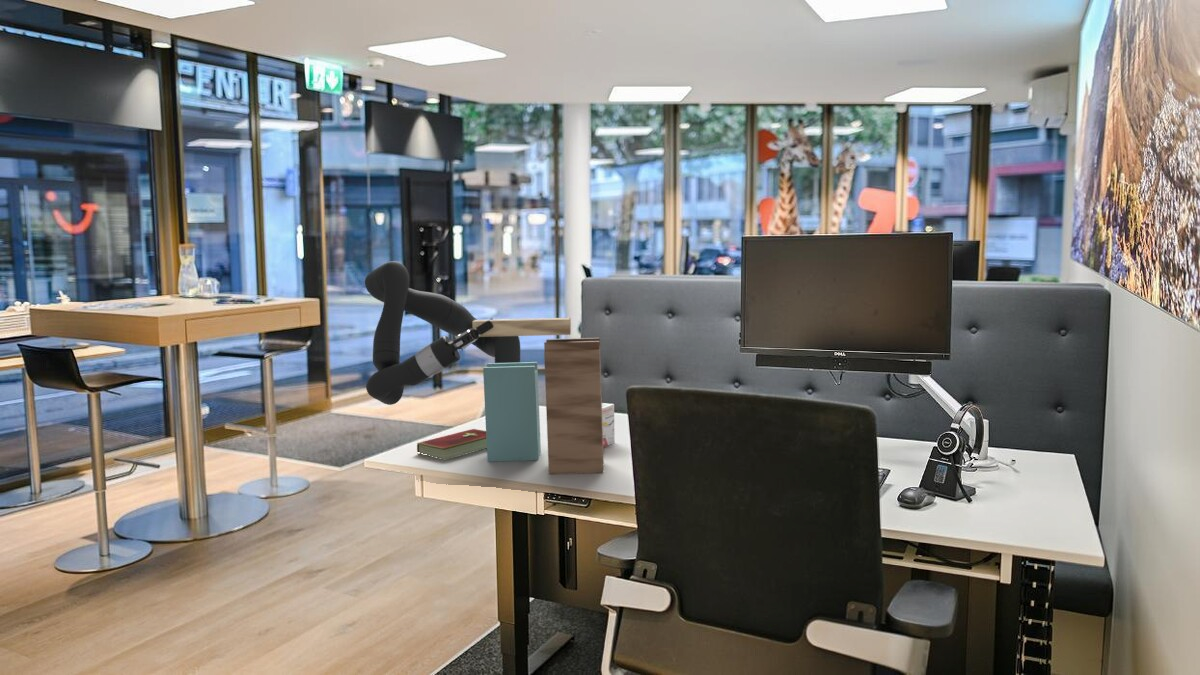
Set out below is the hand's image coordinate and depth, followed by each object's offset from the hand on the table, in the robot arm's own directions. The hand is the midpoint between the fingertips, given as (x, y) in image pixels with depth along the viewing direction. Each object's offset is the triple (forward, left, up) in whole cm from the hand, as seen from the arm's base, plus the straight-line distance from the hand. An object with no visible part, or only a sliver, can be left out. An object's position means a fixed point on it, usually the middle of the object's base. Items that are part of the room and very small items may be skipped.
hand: (492, 322), depth 223 cm
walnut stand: (+1, +21, -39) cm, 44 cm away
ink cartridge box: (-23, +27, -39) cm, 53 cm away
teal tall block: (-12, +3, -39) cm, 41 cm away
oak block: (0, +8, -3) cm, 8 cm away
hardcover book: (-22, -15, -40) cm, 48 cm away
